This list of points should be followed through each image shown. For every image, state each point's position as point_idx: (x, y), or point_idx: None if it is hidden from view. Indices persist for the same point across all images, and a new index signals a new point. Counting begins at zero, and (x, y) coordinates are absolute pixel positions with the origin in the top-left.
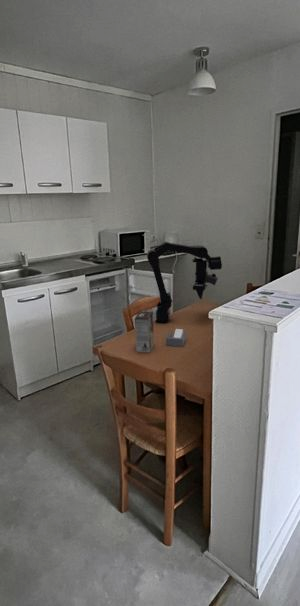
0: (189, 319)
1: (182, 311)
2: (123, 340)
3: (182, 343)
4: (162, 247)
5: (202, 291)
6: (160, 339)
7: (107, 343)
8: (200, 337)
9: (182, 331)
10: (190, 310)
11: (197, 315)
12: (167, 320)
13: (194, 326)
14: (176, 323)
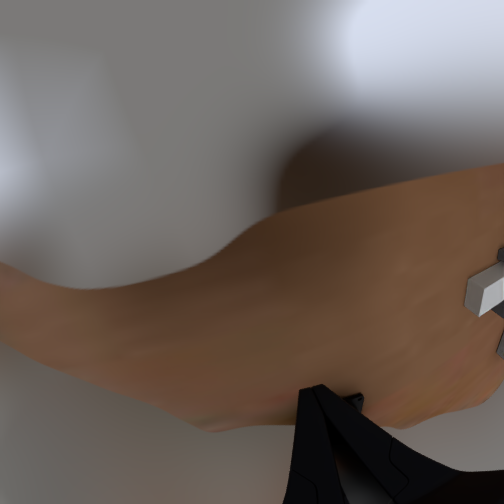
0: (276, 332)
1: (150, 399)
2: (471, 395)
3: None
4: None
5: (427, 465)
6: (488, 327)
7: (475, 405)
8: (488, 194)
9: (496, 280)
10: (110, 369)
11: (176, 311)
12: (351, 404)
13: (389, 263)
14: (355, 363)
